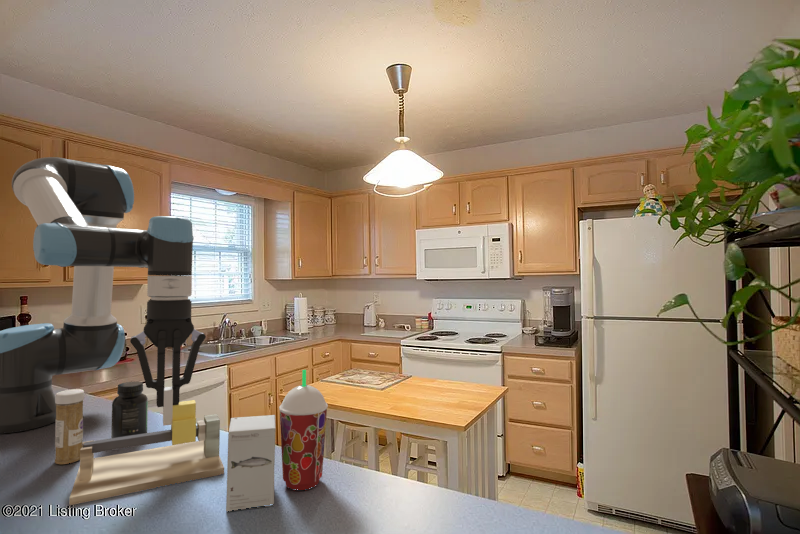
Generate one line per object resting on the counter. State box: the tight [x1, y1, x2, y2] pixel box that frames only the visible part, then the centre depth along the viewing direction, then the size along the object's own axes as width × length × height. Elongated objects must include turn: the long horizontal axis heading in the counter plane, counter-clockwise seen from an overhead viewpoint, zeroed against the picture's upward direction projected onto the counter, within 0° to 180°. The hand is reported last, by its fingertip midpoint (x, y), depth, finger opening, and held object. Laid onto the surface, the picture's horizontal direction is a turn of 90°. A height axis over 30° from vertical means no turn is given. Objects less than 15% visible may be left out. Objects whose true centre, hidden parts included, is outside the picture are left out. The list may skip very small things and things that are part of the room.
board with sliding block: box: [68, 413, 225, 506], centre depth 83 cm, size 16×23×8 cm
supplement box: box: [225, 414, 277, 513], centre depth 73 cm, size 7×7×13 cm
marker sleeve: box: [170, 399, 197, 446], centre depth 86 cm, size 4×4×7 cm
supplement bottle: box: [110, 381, 149, 438], centre depth 99 cm, size 7×7×12 cm
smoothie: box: [278, 369, 329, 491], centre depth 79 cm, size 8×8×20 cm
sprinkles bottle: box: [54, 388, 85, 465], centre depth 87 cm, size 5×5×14 cm
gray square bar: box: [83, 425, 198, 454], centre depth 83 cm, size 2×21×2 cm, turn 120°
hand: (167, 422), depth 84 cm, fingers closed
